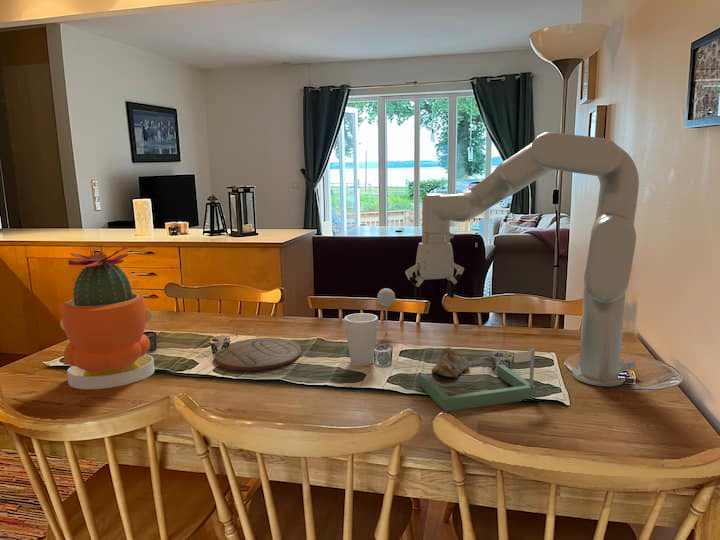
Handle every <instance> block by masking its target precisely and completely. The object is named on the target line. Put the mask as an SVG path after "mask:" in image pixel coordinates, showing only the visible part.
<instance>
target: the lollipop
mask: <svg viewBox="0 0 720 540" xmlns="http://www.w3.org/2000/svg"><path fill="white" fill-rule="evenodd" d="M376 298H377V302H378V303H379V304H380V305H382V306H383V307H385V332H386V333H388V307H389V306H391V305H393V304H394V302H395V300H396V294H395V291H393V290H392V289H390V288H387V287H385V288H382V289H380V290H379V292H378V293H377V297H376Z"/></svg>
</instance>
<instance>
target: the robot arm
mask: <svg viewBox="0 0 720 540" xmlns="http://www.w3.org/2000/svg"><path fill="white" fill-rule="evenodd" d="M553 170H555V171H560V172H567V173H574V174H581V175H588V176H596V177H597V179H598V181H599V192H598V198H597V199H598V202H597V207H596V208H597V209H596V212H595V213H596V214H595V219H594V222H593V225H592V229H591V231H590V232H591V233H590V240H589V246H588V252H587V258H586V259H587V260H586V265H585V270H584V273H583V274H584V275H583V298H582V313H581V314H582V316H581V328H580V329H581V330H580V347H579V362H578V365H577V366H576V367H573V369H572V373H571V374H572V376H573V378H575V379H576V380H577V381H579V382H582V383H584V384H587V385H591V386H597V387H606V388H607V387H610V388H611V387H618V386H620V385H621V386H622V385H623V384H624V383H623V382H624V379H622V380H621V379H619V378H618V376H619V373H624V372H625V370H631V369H633V370H634V369H635V368H636V362H635V361H633V360H631V361H624V360H623V359H621V356H622V354H621V353H622V340H623V327H624V315H625V302H626V292H627V290H628V286H629V283H630V277H631V271H632V267H633V260H634V255H635V249H636V243H637V233H636V232H637V231H636V228H635V219H636V217H635V216H636V211H637V204H638V203H637V202H638V196H639V188H640V187H639V186H640V185H639V184H640V181H639V180H640V179H639V171H638V169H637V166H636V164H635V162H634V159H632V157H631V155H630V154H629V153H628V152H626V150H624V149H623V148H622V147H620V146H619V145H618V144H617V143H616V142H615V141H613V140H611V139H609V138H605V137H598V136H586V135H579V134H570V133H563V132H557V131H545V132H543V133H541V134H539V135H537V136H536V137H535V138H534V139H533V141H532V142H531V143H530V144H528V145H526V146H525V147H523V148H522V149H521V150H520V151H518V152H516V153H515V154H513V155H512V156H509V157H508V158H506V159H505V160H504V161H502V162H501V163H500V164H498V166H496V168H495V169H494V170H493V171H492V172H491V173H490V174H489V175H487V177H485V178H484V179H482V180H481V181H480V182H479V183H477V184H475V185H474V186H472V187H471V188H469V189H468V190H466V191H464V192H461V193H456V194H454V193H453V194H447V193H444V192H430V193H425V194H424V195H423V197H422V204H421V205H422V208H421V211H422V212H421V213H422V215H421V216H422V217H421V219H422V220H421V221H422V222H421V242H418V246H417V251H416V259H415V264H414V265H413V266H410V267H409V268H408V269H405V271H404V272H405V275H406V277H407V280H409V281H410V282H411V283H412V285H414V286H413V295H414V298H415V299H416V300H417V301H419V302H420V301H421V302H422V300H423V288H422V286H421V285H422V284H423V282H424V281H426V280H428V281H429V280H442V279H447V280H448V281H447V283H446V296H448V297H449V298H451V299H453V298H455V295H456V284H457V283H458V281H459V280H460V279H461V277H462V274H463V273H464V271H465V268H464V267H463V266H461V265H459V264H457V263H455V262H454V260H455V259H454V251H453V245H452V243H451V242H450V241H451V239H454V237H455V234H454V233H451V231H450V230H451V229H450V221H452V222H458V223H464V222H467V221H470V220H472V219H474V218H476V217H478V216H480V215H481V214H482V213H484V212H485V211H487V210H488V209H490V208H491V207H494V206H495V205H497V204H499V203H500V202H502V201H503V200H505V199H506V198H508V197H510V196H513V195H514V194H515V195H516V193H518V192H519V191H521V190H524V189H525V188H526V187H527V186H529V185H531V184H532V183H533V182H535V181H537V180H538V179H540V178H542V177H543V176H545V175H547V174H548V173H550V172H551V171H553ZM455 270H456V272H455ZM454 272H455V274H454ZM413 273H415V276H416V277H414V276H413Z"/></svg>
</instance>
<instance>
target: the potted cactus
mask: <svg viewBox="0 0 720 540" xmlns="http://www.w3.org/2000/svg"><path fill="white" fill-rule="evenodd" d="M126 249H128V248H127V246H124V247H122V248H121V249H120V250H116V251H115V252H114V253H112V254H111V255H109V256H107V253H106V252H104V251H102V253H101V252H100V251H99V252H93V254H90V255H88V256H86V255H83V254H79V253H73V252H70V256H71V257H75V258H77V259H78V258H79V259H81V260H78V261H77V260H71V259H69V260H68V266H82V267H81V271H79V274H78V275H75V276H74V282H72V284H73V285H72V287H71V291H72V293H71V295H72V296H73V298H71V299H70V300H68V301H63V303H62V309H61V310H62V311H61V313H62V316H61V317H62V318H61V320H60V321H59V322H60V323H59V325H60V328H61V330H63V331H64V332H65V336H66V338H67V340H68V341H69V344H68V345H67V346H65V348H64V351H63V359H64V361H65V363H66V364H68V365H69V366H70V367H69V368H68V369H67V370H66V373H67V374H66V375H67V382H68V386H69V387H72V388H74V389H80V390H101V389H110V388H116V387H121V386H126V385H129V384H130V385H131V384H134V383H137V382H140V381H143V380H144V379H147V378H149V377H151V376H152V375H153V374H154V373H155V362H154V361H155V360H154V357H153V356H152V355H150V354H147V353H148V351H149V350H150V347H151V340H150V338H149V337H148V335H146V334H144V332H145V329H146V323H150V321H151V320H152V318H153V314H152V311H151V310H150V309H148V308H147V306H146V301H145V297H144V294H138V293H136V292H133V291H132V290H133V289H134V288H135V286H133V285H132V283H134V282H133V281H129V278H130V275H127V274H126V273H127V272H128V271H127V270H125V272H124V267H121V268H120V266H121V264H122V263H124V258H126V257H129V254H128V253H124V254H120V255H117V254H119V252H122V251H124V250H126ZM116 255H117V256H116ZM75 279H76V280H75Z"/></svg>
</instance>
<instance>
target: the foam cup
mask: <svg viewBox="0 0 720 540" xmlns="http://www.w3.org/2000/svg"><path fill="white" fill-rule="evenodd" d="M343 320H344V321H343V322H344V328H345V333H346V340H347V346H348V353H349V359H350V360H349V361H350V363H351V364H352V365H354V366H359V367H360V366H361V367H363V366H369V364H370V365H371V363H372V362H373V363H374V358H375V351H374V349H375V350H376V342H377V333H378V327H379V316H378V315H376V314H373V313H365V312H362V313H361V312H360V313H359V312H358V313H357V312H356V313H352V314H348V315H345V316H344V318H343ZM373 363H372V364H373Z"/></svg>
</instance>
